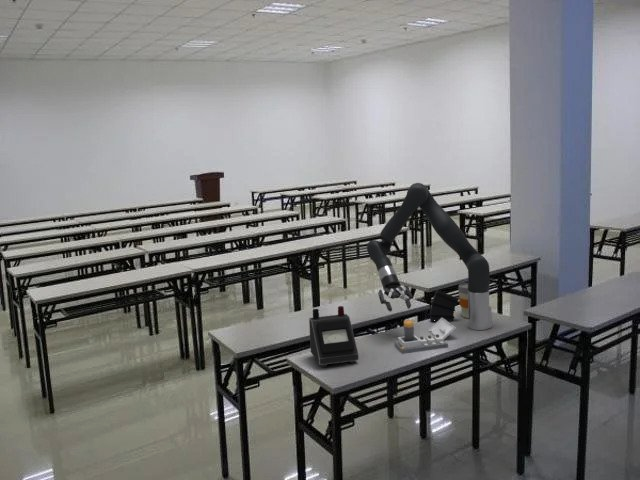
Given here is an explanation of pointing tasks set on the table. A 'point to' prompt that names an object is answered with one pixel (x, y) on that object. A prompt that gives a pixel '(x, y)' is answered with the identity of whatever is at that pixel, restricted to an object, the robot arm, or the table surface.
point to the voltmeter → (332, 338)
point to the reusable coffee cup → (464, 299)
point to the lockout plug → (408, 331)
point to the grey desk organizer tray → (420, 344)
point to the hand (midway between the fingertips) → (400, 309)
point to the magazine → (442, 306)
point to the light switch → (442, 328)
